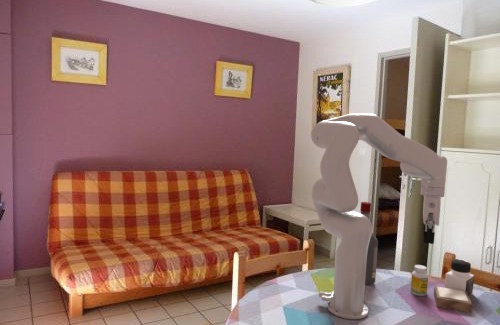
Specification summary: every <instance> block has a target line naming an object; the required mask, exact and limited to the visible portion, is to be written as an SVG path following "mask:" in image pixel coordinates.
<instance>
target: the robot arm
mask: <svg viewBox="0 0 500 325" xmlns="http://www.w3.org/2000/svg"><path fill="white" fill-rule="evenodd" d="M310 133H311V134H310V138H311V141H312V143H313V144H314V145H315V146H316V147H318V148H320V149H325V151H324V153H323V155H322V157H321V161H320V166H319V169H320V170H319V171H320V174H321V177H320V178H318V179H317V180H316V181H315V182H314V184H313V185H312V189H311V198H312V202H313V205H314V207H315V212H316V213H317V217H318V220H319V221H320V222H319V223H320V225H321V227H322V229H323V230H325V231H326V233H328V234H330V235H332V236H334V237H336V238H338V239H340V243H339V245H338V247H337V248H336V250H335V255H334V271H333V272H334V273H333V276H334V277H333V288H332V289H333V290H332V292H331V291H329V292H325V291H323V290H322V291H321V290H320V291H319V294H318V297H319V298H320V299H321V301H324V302H327V307H326V308H327V310H328V311H329V312H330V313H332V314H333V315H334V316H335V317H336V316H337V317H338V318H342V319H345V320H346V319H347V320H360V319H364V318H366V317H367V316H368V315H369V308H368V307H367V306H368V305H366V304H365V290H366V289H365V288H366V286H365V277H366V262H367V251H368V246H369V242H370V238H371V235H372V233H373V225H372V222H371V221H370V220H371V219H370V220H369V219H368V218H367V217H366V216H364V215H363V214H361V212H357V211H355V210H356V209H357V207H358V206H359V205H358V204H359V195H358V191H357V188H356V185H355V182H354V179H353V175H352V172H351V168H350V160H351V157H352V154H353V152H354V150H355V148H356V147H357V145H358V143H359V141H362V142H364V143H366V144H367V145H368V146H369V147H372V148H373V149H374V150H375V151H377V152H378V153H379V154H380V155H382V156H383V157H385V158H387V159H390V160H393V161H395V162H400V164H399V167H400V170H401V172H402V173H403V174H404V175H407V176H409V177H415V178H420V179H421V181H420V195H421V196H423V205H422V220H423V221H422V222H423V224H424V225H423V234H422V235H423V240H422V241H423V243H425V244H429V245H431V244H432V245H434V244H435V236H436V233H435V226H436V227H438V226H440V218H441V217H440V216H441V202H442V200H441V199H442V198H444V197H445V193H446V190H445V189H446V181H447V180H446V179H447V170H448V168H447V167H448V158H447V157H446V156H443V155H438V154H437V152H435V151H434V150H433V149H431V148H429V147H428V146H426V145H424V144H422V143H419V142H417V141H415V140H414V139H411V138H409V137H406V136H404V135H403V134H401V133H400V132H399V131H397V130H396V129H395V128H393V126H391V125H390V124H389V123H388V122H386V121H385V120H384V119H383V118H382V117H380V116H378V115H377V114H375V113H367V112H365V113H354V112H353V113H348V114H345V115H341V116H337V117H333V118H329V119H325V120H322V121H319V122H318V123H316V124H315V125H314V126H313V127H312V129H311V132H310ZM325 231H324V232H325Z"/></svg>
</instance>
